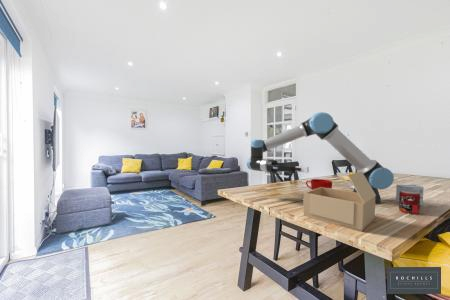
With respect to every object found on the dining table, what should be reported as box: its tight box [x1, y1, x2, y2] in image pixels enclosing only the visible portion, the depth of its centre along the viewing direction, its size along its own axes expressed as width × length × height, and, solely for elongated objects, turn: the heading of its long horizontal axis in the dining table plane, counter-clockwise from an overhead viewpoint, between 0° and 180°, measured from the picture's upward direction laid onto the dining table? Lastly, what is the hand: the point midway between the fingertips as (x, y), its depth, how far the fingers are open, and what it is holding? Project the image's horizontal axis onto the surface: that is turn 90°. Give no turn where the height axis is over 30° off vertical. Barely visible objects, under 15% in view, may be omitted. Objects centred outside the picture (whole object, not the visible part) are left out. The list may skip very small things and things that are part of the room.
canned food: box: [398, 189, 421, 215], centre depth 107 cm, size 8×8×11 cm
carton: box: [302, 187, 376, 232], centre depth 97 cm, size 24×21×11 cm
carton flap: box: [347, 171, 376, 204], centre depth 90 cm, size 12×19×1 cm
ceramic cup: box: [305, 178, 333, 190], centre depth 140 cm, size 13×17×10 cm
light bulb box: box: [395, 184, 424, 206], centre depth 123 cm, size 11×7×11 cm, turn 84°
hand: (307, 170), depth 107 cm, fingers closed
